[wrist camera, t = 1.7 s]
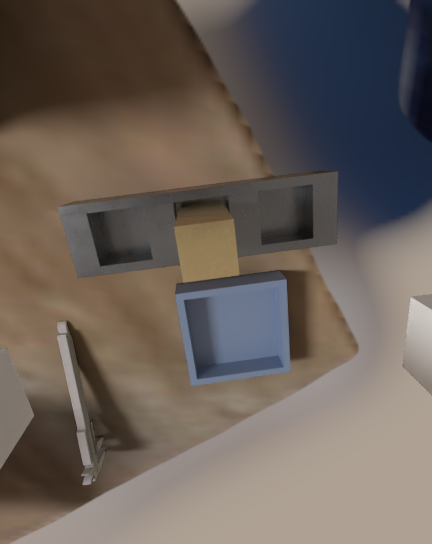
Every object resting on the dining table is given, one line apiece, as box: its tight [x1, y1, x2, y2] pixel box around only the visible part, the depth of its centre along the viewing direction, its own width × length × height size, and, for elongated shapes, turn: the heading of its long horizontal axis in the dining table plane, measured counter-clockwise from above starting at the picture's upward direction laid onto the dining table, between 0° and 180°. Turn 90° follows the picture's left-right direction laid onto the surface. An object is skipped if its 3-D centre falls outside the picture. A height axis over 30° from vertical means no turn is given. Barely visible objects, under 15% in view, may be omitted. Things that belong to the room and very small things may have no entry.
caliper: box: [57, 321, 106, 485], centre depth 37 cm, size 20×1×6 cm, turn 7°
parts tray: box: [175, 270, 291, 386], centre depth 36 cm, size 12×12×3 cm
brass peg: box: [174, 199, 239, 283], centre depth 27 cm, size 4×4×12 cm
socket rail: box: [58, 170, 338, 278], centre depth 31 cm, size 26×7×4 cm, turn 97°
